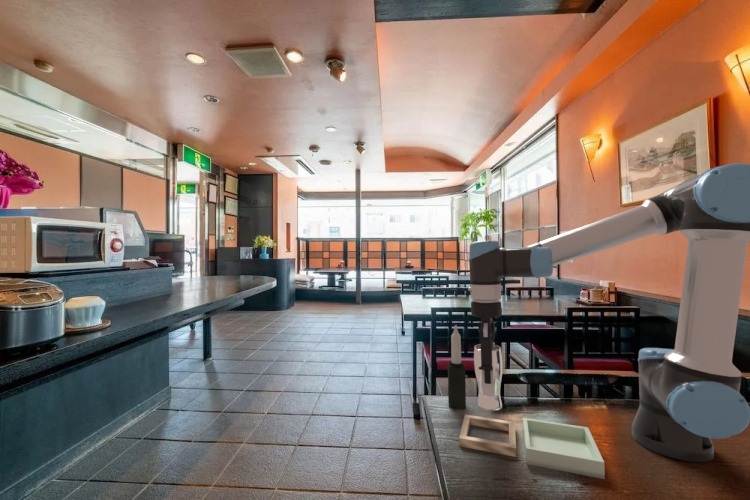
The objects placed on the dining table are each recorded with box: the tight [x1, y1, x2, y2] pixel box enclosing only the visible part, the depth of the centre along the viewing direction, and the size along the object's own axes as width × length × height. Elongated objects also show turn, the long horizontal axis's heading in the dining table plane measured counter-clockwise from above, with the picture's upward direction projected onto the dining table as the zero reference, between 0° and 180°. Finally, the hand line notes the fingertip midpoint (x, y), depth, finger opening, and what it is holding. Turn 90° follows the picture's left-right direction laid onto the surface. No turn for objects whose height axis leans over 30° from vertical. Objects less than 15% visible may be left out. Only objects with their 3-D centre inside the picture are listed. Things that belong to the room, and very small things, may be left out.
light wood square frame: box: [458, 413, 517, 458], centre depth 87 cm, size 13×13×2 cm
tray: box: [522, 417, 606, 480], centre depth 80 cm, size 15×15×4 cm
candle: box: [447, 324, 467, 410], centre depth 105 cm, size 5×5×25 cm
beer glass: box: [473, 343, 503, 412], centre depth 87 cm, size 7×7×15 cm
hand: (489, 389), depth 87 cm, fingers closed on beer glass, 6 cm apart
